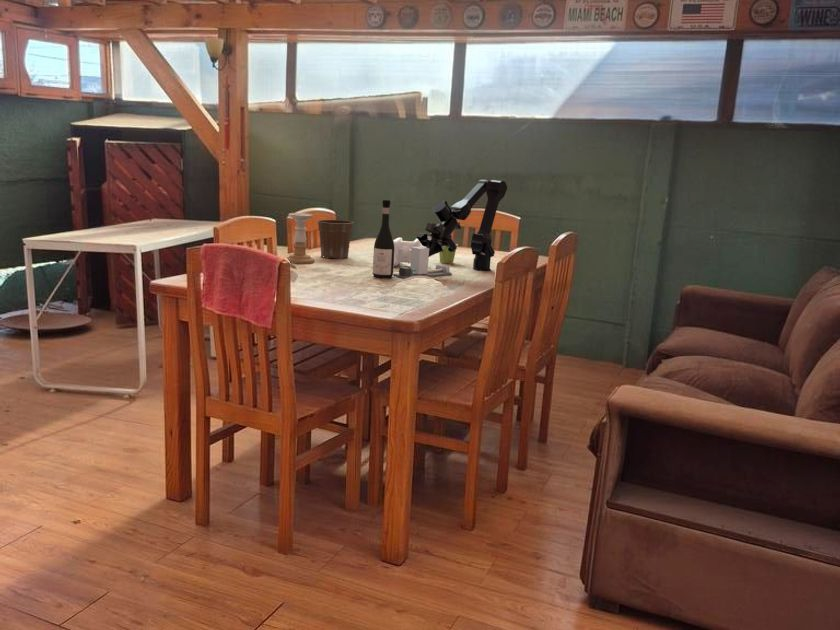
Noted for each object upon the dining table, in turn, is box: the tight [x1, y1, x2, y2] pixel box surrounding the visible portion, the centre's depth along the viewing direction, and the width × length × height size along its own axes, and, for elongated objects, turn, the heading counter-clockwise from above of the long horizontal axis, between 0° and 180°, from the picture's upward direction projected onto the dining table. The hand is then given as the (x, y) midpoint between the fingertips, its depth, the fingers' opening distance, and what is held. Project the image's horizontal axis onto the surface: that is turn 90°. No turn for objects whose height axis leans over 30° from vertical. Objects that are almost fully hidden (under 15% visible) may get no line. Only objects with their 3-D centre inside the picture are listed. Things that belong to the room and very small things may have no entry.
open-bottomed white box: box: [409, 246, 430, 275], centre depth 290 cm, size 5×5×10 cm
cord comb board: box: [392, 264, 453, 280], centre depth 292 cm, size 25×8×4 cm, turn 133°
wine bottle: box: [372, 199, 395, 279], centre depth 281 cm, size 8×8×30 cm
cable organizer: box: [393, 237, 421, 267], centre depth 313 cm, size 15×11×12 cm
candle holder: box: [285, 212, 315, 264], centre depth 306 cm, size 12×12×20 cm
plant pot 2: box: [438, 243, 459, 265], centre depth 329 cm, size 9×9×9 cm
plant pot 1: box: [316, 219, 355, 259], centre depth 325 cm, size 16×16×16 cm
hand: (424, 257), depth 291 cm, fingers closed, pressing on open-bottomed white box
